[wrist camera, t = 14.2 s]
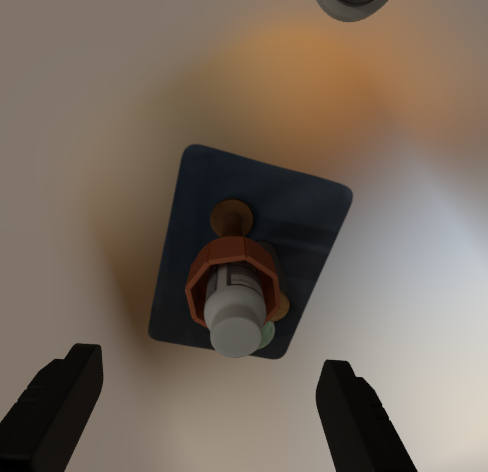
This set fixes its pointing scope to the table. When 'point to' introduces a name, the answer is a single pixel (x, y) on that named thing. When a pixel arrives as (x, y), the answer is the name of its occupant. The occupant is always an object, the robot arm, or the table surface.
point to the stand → (231, 218)
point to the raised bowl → (230, 252)
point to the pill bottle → (234, 308)
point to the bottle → (281, 280)
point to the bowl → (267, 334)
